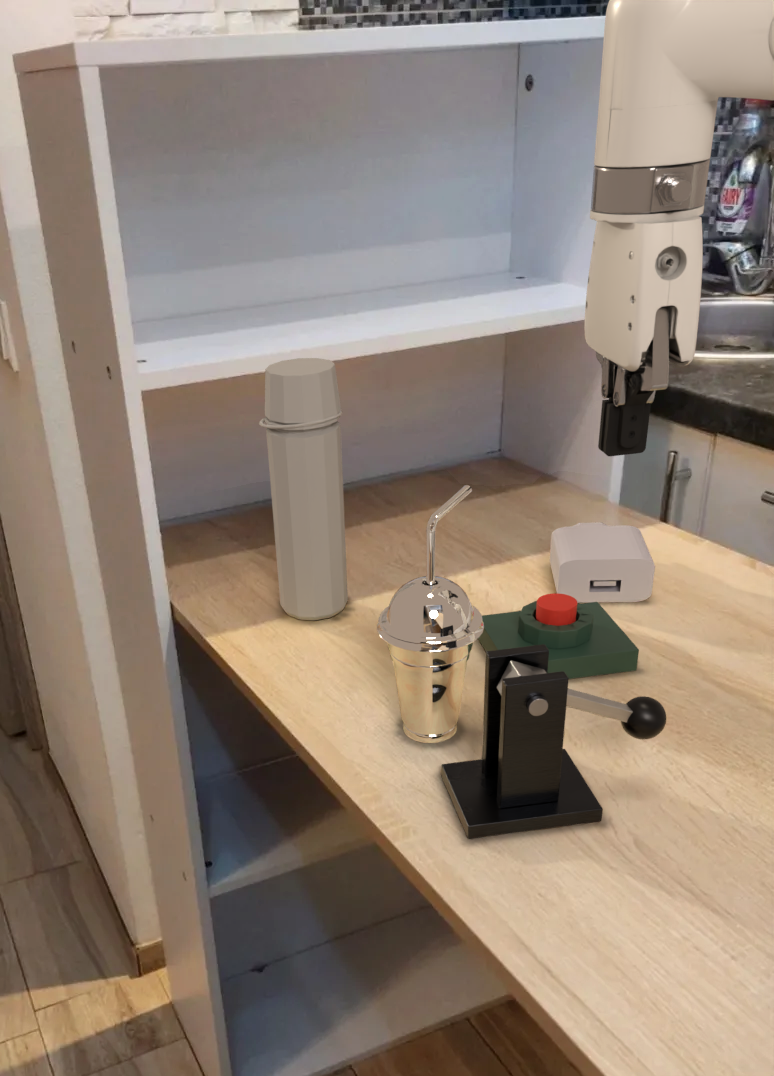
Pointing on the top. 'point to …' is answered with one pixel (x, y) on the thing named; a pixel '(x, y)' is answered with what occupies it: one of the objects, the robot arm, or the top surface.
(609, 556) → the charger
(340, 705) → the top surface
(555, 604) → the button
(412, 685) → the cup with straw
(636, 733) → the tap lever
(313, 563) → the water bottle
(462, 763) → the black lever stand
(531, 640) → the green button base
